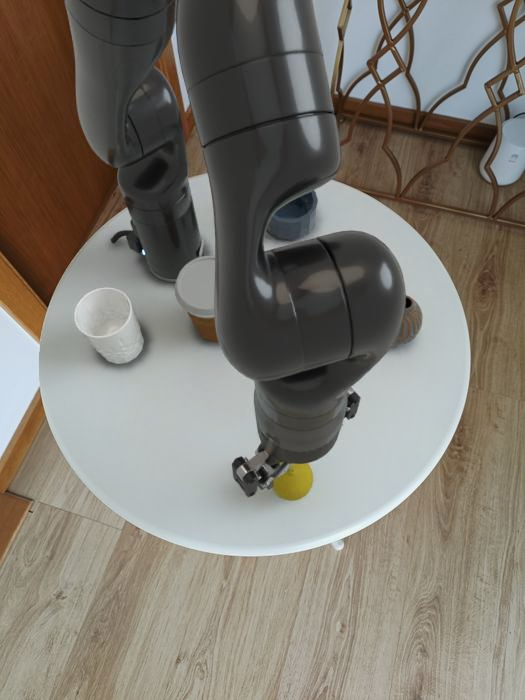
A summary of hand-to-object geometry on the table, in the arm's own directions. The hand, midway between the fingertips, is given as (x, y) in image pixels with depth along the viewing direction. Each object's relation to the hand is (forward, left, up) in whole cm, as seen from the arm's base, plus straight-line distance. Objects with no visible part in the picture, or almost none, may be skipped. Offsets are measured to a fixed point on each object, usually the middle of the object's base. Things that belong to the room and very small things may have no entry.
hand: (295, 457), depth 59 cm
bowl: (-25, +37, -14) cm, 47 cm away
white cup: (-33, +3, -14) cm, 36 cm away
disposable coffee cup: (-23, +14, -14) cm, 30 cm away
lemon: (0, 0, -14) cm, 14 cm away
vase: (0, +28, -14) cm, 31 cm away
